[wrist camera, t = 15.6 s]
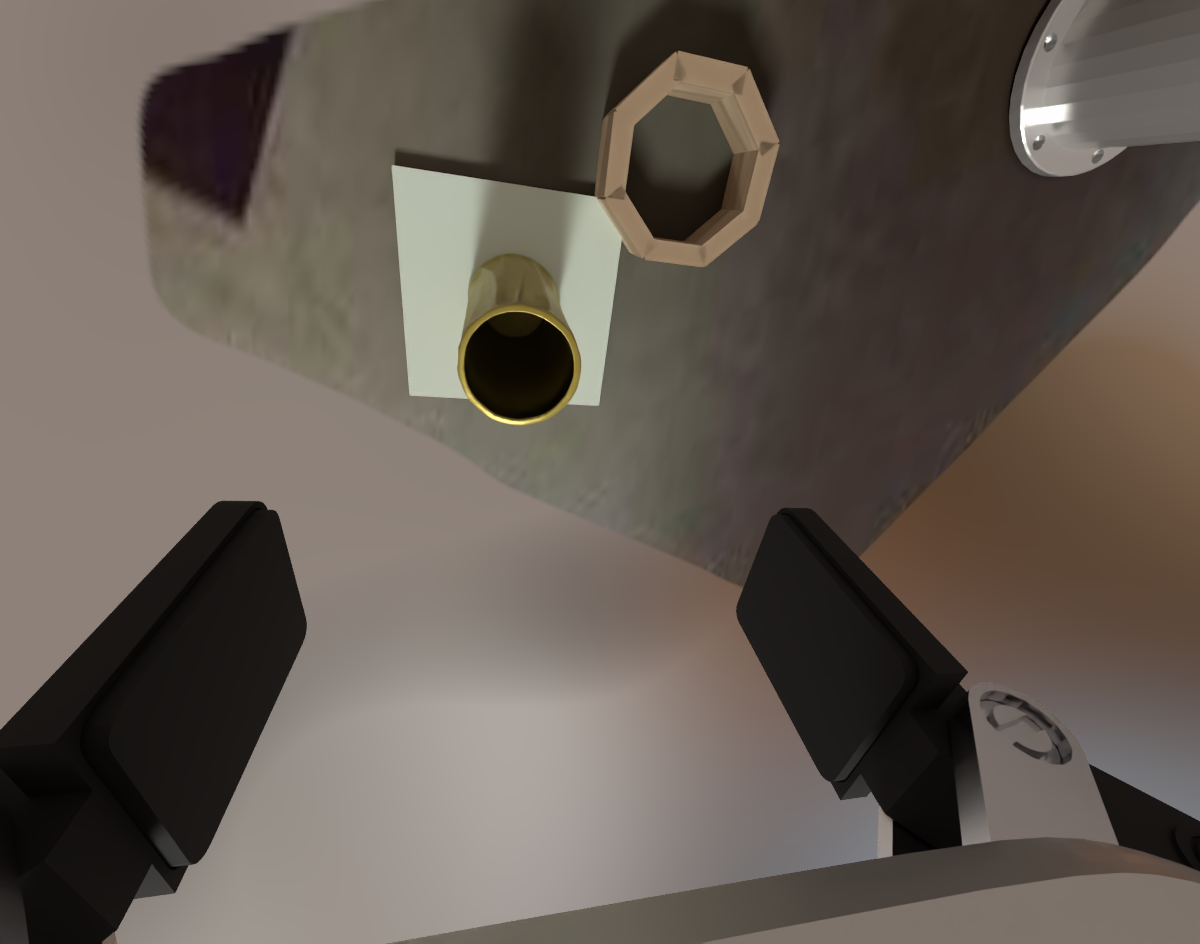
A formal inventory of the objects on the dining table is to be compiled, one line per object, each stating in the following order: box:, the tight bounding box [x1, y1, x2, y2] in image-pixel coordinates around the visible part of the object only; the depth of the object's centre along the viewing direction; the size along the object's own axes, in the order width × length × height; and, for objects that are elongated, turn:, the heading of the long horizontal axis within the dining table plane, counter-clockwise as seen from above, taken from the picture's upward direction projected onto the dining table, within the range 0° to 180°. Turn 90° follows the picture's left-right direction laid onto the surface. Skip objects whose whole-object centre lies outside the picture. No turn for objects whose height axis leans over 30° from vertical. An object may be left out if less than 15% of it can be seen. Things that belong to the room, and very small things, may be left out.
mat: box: [392, 165, 622, 406], centre depth 32 cm, size 14×14×1 cm
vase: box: [457, 254, 581, 425], centre depth 25 cm, size 6×6×14 cm
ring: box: [594, 51, 779, 267], centre depth 28 cm, size 10×10×4 cm
